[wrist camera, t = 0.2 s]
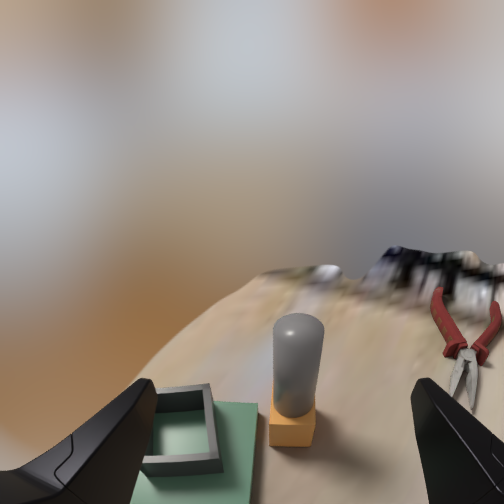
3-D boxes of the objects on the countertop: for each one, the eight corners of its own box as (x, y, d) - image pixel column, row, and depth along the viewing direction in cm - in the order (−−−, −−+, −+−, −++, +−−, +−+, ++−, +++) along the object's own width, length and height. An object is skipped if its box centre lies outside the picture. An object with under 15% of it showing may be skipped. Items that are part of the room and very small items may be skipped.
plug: (310, 446, 22) (329, 355, 17) (269, 445, 23) (268, 354, 17) (310, 406, 26) (324, 307, 21) (273, 405, 27) (272, 306, 21)
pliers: (407, 400, 26) (415, 385, 24) (430, 296, 40) (435, 281, 39) (499, 423, 20) (511, 408, 19) (495, 313, 35) (501, 299, 33)
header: (224, 472, 19) (219, 458, 18) (146, 477, 18) (133, 462, 17) (213, 402, 26) (209, 383, 24) (147, 408, 25) (137, 389, 23)
